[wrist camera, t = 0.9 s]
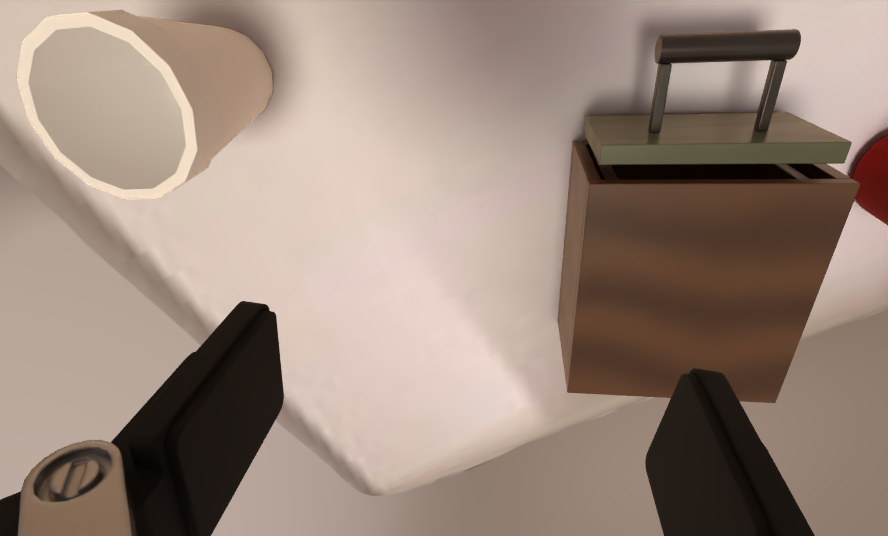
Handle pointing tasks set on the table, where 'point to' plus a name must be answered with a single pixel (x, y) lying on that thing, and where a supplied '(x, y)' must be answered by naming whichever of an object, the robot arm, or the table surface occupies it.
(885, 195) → the beverage can
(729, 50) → the drawer
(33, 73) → the foam cup
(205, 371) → the robot arm
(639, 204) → the cabinet
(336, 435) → the table surface
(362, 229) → the table surface
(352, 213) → the table surface
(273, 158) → the table surface
